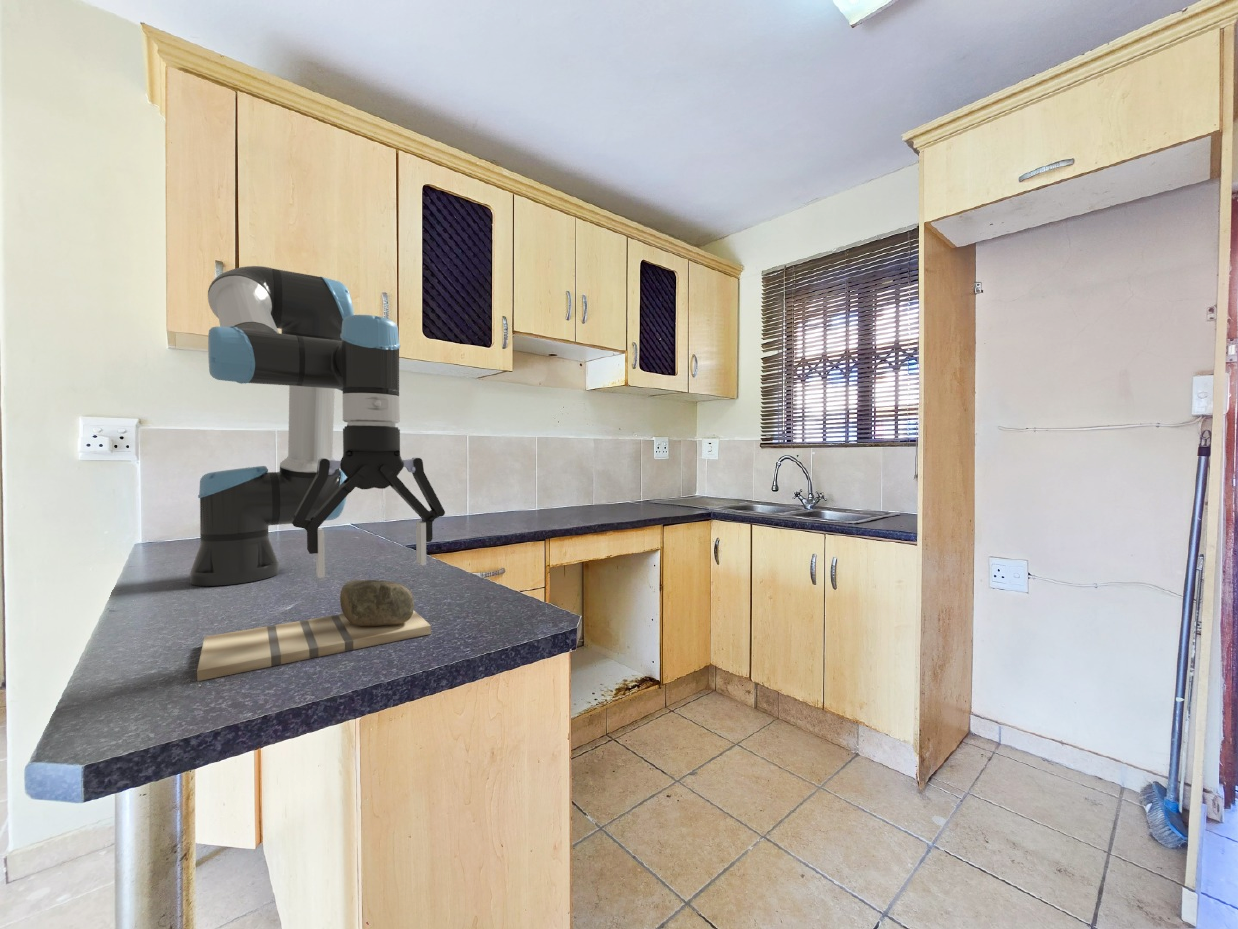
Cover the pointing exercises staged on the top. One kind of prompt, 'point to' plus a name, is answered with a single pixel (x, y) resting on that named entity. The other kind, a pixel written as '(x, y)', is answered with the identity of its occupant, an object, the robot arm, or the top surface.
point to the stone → (376, 602)
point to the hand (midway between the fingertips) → (373, 569)
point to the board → (296, 643)
